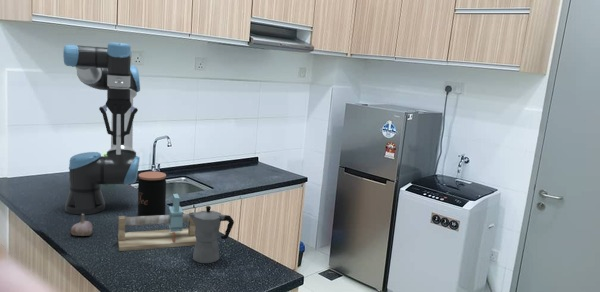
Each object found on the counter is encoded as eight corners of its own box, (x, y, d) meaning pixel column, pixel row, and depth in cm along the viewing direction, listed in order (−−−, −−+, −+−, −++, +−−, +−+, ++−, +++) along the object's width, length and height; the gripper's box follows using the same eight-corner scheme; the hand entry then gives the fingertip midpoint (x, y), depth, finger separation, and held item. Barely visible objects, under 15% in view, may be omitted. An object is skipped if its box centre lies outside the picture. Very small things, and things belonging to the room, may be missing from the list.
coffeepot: (181, 260, 154) (183, 208, 150) (192, 249, 163) (194, 199, 159) (227, 266, 152) (230, 213, 148) (235, 255, 161) (238, 205, 158)
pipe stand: (118, 236, 169) (118, 211, 167) (191, 231, 179) (192, 207, 177) (118, 251, 157) (119, 223, 155) (197, 245, 167) (198, 219, 165)
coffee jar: (135, 214, 193) (136, 171, 189) (162, 212, 198) (163, 170, 194) (139, 223, 183) (140, 178, 180) (167, 220, 188) (168, 177, 185)
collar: (168, 224, 172) (169, 193, 170) (179, 224, 173) (180, 192, 171) (170, 231, 165) (171, 199, 163) (182, 231, 167) (183, 198, 165)
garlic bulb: (96, 236, 168) (96, 215, 166) (74, 240, 163) (74, 218, 162) (89, 229, 174) (89, 209, 172) (67, 233, 169) (67, 212, 167)
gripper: (98, 87, 158) (98, 156, 163) (139, 89, 163) (138, 155, 168) (98, 86, 165) (98, 151, 169) (137, 87, 170) (137, 151, 174)
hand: (118, 153), depth 168 cm, fingers closed
